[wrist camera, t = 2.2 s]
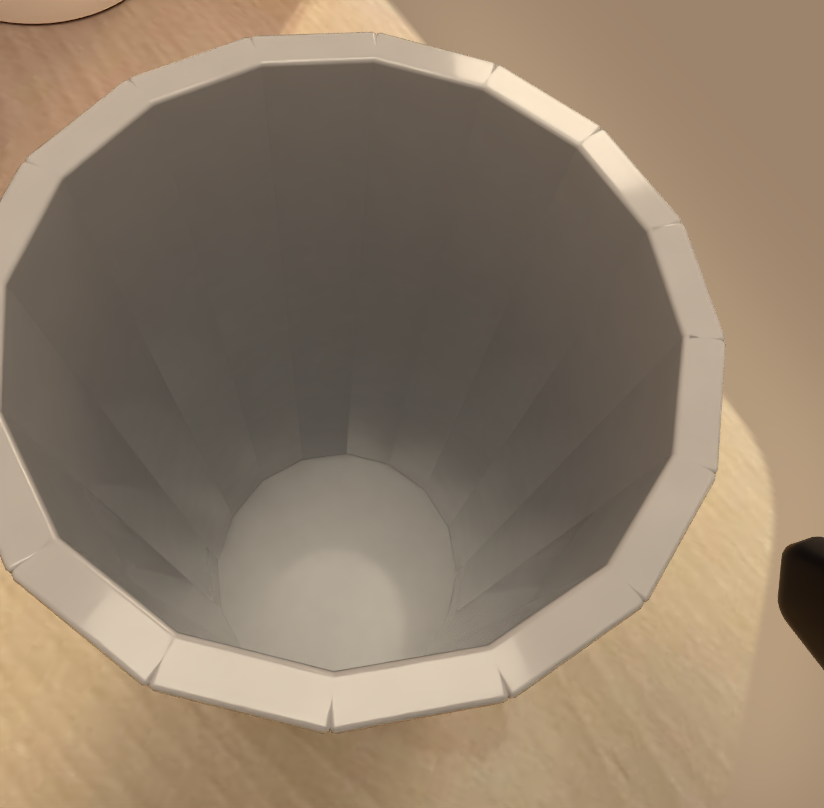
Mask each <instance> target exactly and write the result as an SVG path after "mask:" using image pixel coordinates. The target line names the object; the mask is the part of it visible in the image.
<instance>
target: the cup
mask: <svg viewBox="0 0 824 808" xmlns="http://www.w3.org/2000/svg"><path fill="white" fill-rule="evenodd" d="M121 1H122V0H0V21H4V22H11V23H23V24H41V23H54V22H62V21H68V20H73V19H78V18H81V17H85V16H89V15H92V14H94V13H97V12H100V11H102V10H105V9H107V8H109V7H112V6H113V5H115V4H117V3H119V2H121Z"/></svg>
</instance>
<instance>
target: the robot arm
mask: <svg viewBox="0 0 824 808" xmlns="http://www.w3.org/2000/svg"><path fill="white" fill-rule="evenodd" d="M778 604H779V608H780V611H781V613H782V615H783V617H784V619H785V620H786V622H787V623H788V625H789V626H790V627H791V628H792V630H793V631H794V632H795V634H796V635H797V636H798V638H799V639H800V640H801V641H802V643H803V644H804V645H805V646H806V648H807V649H808V650H809V652H810V653H811V654H812V655H813V657H814V658H815V659H816V661H817V662H818V663H819V664H820V666H821V667H822V668H823V670H824V538H823V537H811V538H808V539H805V540H802V541H799V542H797V543H793V544H790V545H789V546H787V547H786V548H785V550H784V552H783V553H782V559H781V570H780V580H779V590H778Z"/></svg>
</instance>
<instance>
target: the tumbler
mask: <svg viewBox="0 0 824 808" xmlns="http://www.w3.org/2000/svg"><path fill="white" fill-rule="evenodd" d="M725 346H726V344H725V342H724V333H723V331H722V328H721V325H720V323H719V319H718V317H717V314H716V312H715V308H714V306H713V303H712V300H711V297H710V295H709V292H708V289H707V286H706V284H705V281H704V278H703V275H702V272H701V270H700V267H699V264H698V261H697V258H696V256H695V253H694V250H693V247H692V245H691V242H690V239H689V236H688V234H687V231H686V228H685V225H684V224H683V223H681V219H680V217H679V216H678V215H677V214H676V212H675V211H674V210H673V209H672V208H671V207H670V206H669V204H668V203H667V202H666V201H665V200H664V199H663V197H662V196H661V195H660V194H659V193H658V191H657V190H656V189H655V188H654V187H653V186H652V184H651V183H650V182H649V181H648V180H647V179H646V177H645V176H644V175H643V174H642V173H641V172H640V170H639V169H638V168H637V167H636V166H635V165H634V163H633V162H632V161H631V160H630V159H629V157H628V156H627V155H626V154H625V153H624V152H623V150H622V149H621V148H620V147H619V146H618V145H617V143H616V142H615V141H614V140H613V139H612V138H611V136H610V135H609V134H608V133H607V132H606V131H605V130H604V129H601V127H600V126H599V125H598V124H597V123H595V122H593V121H592V120H590V119H588V118H587V117H585V116H583V115H581V114H580V113H578V112H577V111H575V110H574V109H572V108H570V107H568V106H567V105H565V104H563V103H562V102H560V101H559V100H557V99H555V98H554V97H552V96H551V95H549V94H547V93H546V92H544V91H542V90H541V89H539V88H537V87H536V86H534V85H532V84H531V83H529V82H527V81H526V80H524V79H522V78H521V77H519V76H518V75H516V74H514V73H513V72H511V71H509V70H508V69H506V68H504V67H503V66H500V65H497V66H496V65H495V63H493V62H491V61H487V60H483V59H479V58H475V57H471V56H468V55H464V54H460V53H456V52H452V51H448V50H444V49H441V48H436V47H433V46H429V45H425V44H421V43H417V42H413V41H410V40H406V39H402V38H398V37H394V36H390V35H386V34H383V33H378V34H377V35H376V34H375V33H373V32H357V33H326V34H296V35H266V36H253V37H251V39H250V38H242V39H240V40H237V41H234V42H231V43H228V44H225V45H222V46H219V47H216V48H214V49H211V50H208V51H205V52H202V53H199V54H196V55H193V56H190V57H187V58H185V59H182V60H179V61H176V62H173V63H170V64H167V65H164V66H161V67H158V68H156V69H153V70H150V71H147V72H144V73H141V74H138V75H135V76H132V77H131V78H130V79H129V81H128V80H126V81H123V82H122V83H120V84H119V85H118V86H117V87H115V88H114V89H113V90H112V91H110V92H109V93H108V94H106V95H105V96H104V97H103V98H101V99H100V100H99V101H98V102H96V103H95V104H94V105H92V106H91V107H90V108H89V109H87V110H86V111H85V112H84V113H82V114H81V115H80V116H78V117H77V118H76V119H75V120H73V121H72V122H71V123H70V124H68V125H67V126H66V127H64V128H63V129H62V130H61V131H59V132H58V133H57V134H56V135H54V136H53V137H52V138H50V139H49V140H48V141H47V142H45V143H44V144H43V145H42V146H40V147H39V148H38V149H36V150H35V151H34V152H33V153H31V154H30V155H29V156H28V157H27V158H26V159H25V162H23V163H22V164H20V166H19V168H18V170H17V171H16V173H15V175H14V177H13V178H12V180H11V182H10V184H9V185H8V187H7V189H6V191H5V192H4V194H3V196H2V198H1V200H0V557H1V559H2V562H3V564H4V566H5V569H6V570H7V571H8V572H9V573H11V574H12V577H13V580H14V581H15V582H17V583H18V584H19V585H20V586H21V587H23V588H24V589H25V590H26V591H27V592H29V593H30V594H31V595H32V596H34V597H35V598H36V599H37V600H38V601H40V602H41V603H42V604H43V605H44V606H46V607H47V608H48V609H49V610H51V611H52V612H53V613H54V614H55V615H57V616H58V617H59V618H60V619H61V620H63V621H64V622H65V623H66V624H68V625H69V626H70V627H71V628H72V629H74V630H75V631H76V632H77V633H78V634H80V635H81V636H82V637H83V638H85V639H86V640H87V641H88V642H89V643H91V644H92V645H93V646H94V647H95V648H97V649H98V650H99V651H100V652H102V653H103V654H104V655H105V656H106V657H108V658H109V659H110V660H111V661H112V662H114V663H115V664H116V665H117V666H119V667H120V668H121V669H122V670H123V671H125V672H126V673H127V674H128V675H129V676H131V677H132V678H133V679H134V680H136V681H137V682H138V683H139V684H140V685H143V686H148V687H149V688H150V689H152V690H153V691H155V692H159V693H163V694H167V695H171V696H175V697H179V698H183V699H187V700H191V701H195V702H199V703H203V704H207V705H211V706H215V707H219V708H223V709H227V710H231V711H235V712H239V713H243V714H247V715H251V716H255V717H259V718H263V719H267V720H271V721H275V722H279V723H283V724H287V725H291V726H295V727H299V728H303V729H307V730H311V731H315V732H319V733H327V732H329V730H330V731H331V733H335V734H339V733H344V732H350V731H355V730H360V729H366V728H371V727H377V726H382V725H387V724H393V723H398V722H403V721H409V720H414V719H420V718H425V717H430V716H436V715H441V714H446V713H452V712H457V711H463V710H468V709H473V708H479V707H484V706H489V705H495V704H500V703H504V702H505V701H507V700H508V699H511V698H516V697H517V696H519V695H520V694H521V693H523V692H524V691H526V690H527V689H528V688H530V687H531V686H533V685H534V684H535V683H537V682H538V681H540V680H541V679H542V678H544V677H545V676H547V675H548V674H549V673H551V672H552V671H554V670H555V669H557V668H558V667H559V666H561V665H562V664H564V663H565V662H566V661H568V660H569V659H571V658H572V657H573V656H575V655H576V654H578V653H579V652H580V651H582V650H583V649H585V648H586V647H587V646H589V645H590V644H592V643H593V642H594V641H596V640H597V639H599V638H600V637H601V636H603V635H604V634H606V633H607V632H609V631H610V630H611V629H613V628H614V627H616V626H617V625H618V624H620V623H621V622H623V621H624V620H625V619H627V618H628V617H630V616H631V615H632V614H634V613H635V612H637V611H638V610H639V609H641V607H642V605H643V603H644V602H646V601H648V600H649V598H650V597H651V595H652V593H653V591H654V589H655V587H656V586H657V584H658V582H659V580H660V578H661V577H662V575H663V573H664V571H665V569H666V568H667V566H668V564H669V562H670V560H671V559H672V557H673V555H674V553H675V551H676V549H677V548H678V546H679V544H680V542H681V540H682V539H683V537H684V535H685V533H686V531H687V530H688V528H689V526H690V524H691V522H692V521H693V519H694V517H695V515H696V513H697V512H698V510H699V508H700V506H701V504H702V502H703V501H704V499H705V497H706V495H707V493H708V492H709V490H710V488H711V486H712V484H713V483H714V481H715V476H716V475H715V474H716V472H717V470H718V459H719V443H720V427H721V411H722V395H723V379H724V363H725Z"/></svg>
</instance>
